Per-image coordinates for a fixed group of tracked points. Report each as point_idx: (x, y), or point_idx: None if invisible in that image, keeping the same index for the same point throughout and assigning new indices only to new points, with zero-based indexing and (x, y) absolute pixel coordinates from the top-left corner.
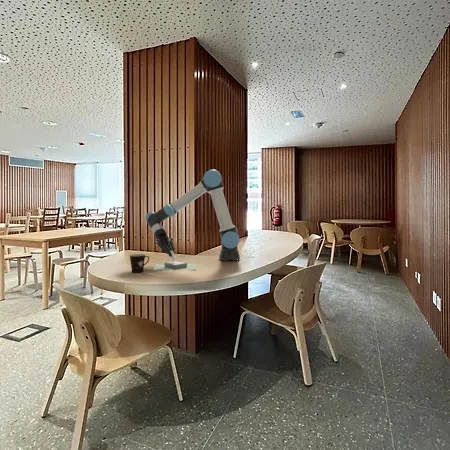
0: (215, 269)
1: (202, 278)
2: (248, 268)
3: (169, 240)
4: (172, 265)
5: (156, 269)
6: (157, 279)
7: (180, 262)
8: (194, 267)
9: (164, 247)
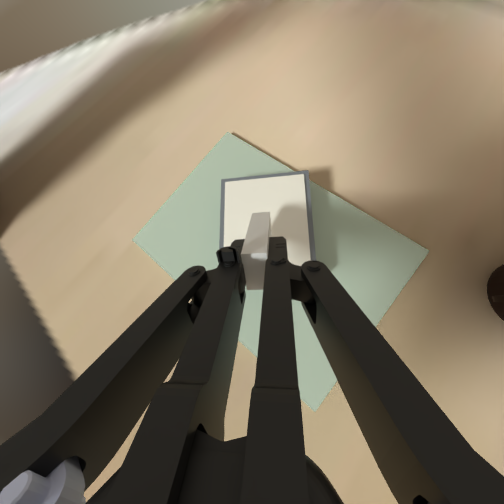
0: (162, 107)
1: (309, 18)
2: (79, 63)
3: (66, 489)
4: (309, 198)
5: (398, 250)
6: (486, 78)
7: (234, 217)
8: (204, 167)
9: (331, 292)
